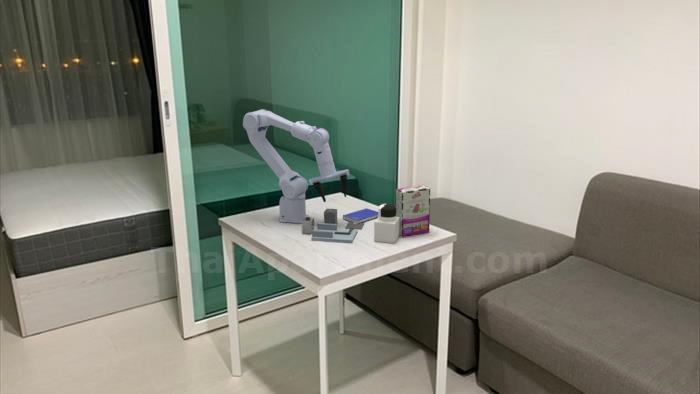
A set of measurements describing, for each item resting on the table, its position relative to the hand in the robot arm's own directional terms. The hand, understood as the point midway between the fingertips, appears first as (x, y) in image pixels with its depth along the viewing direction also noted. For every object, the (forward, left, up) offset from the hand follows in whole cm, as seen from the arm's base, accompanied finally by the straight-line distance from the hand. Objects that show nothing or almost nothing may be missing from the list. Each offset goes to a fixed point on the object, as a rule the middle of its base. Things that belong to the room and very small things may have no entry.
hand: (335, 198), depth 191 cm
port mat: (+7, 0, -10) cm, 12 cm away
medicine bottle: (+20, -10, -10) cm, 25 cm away
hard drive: (+8, +9, -10) cm, 16 cm away
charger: (-2, 0, -10) cm, 10 cm away
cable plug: (-8, -9, -10) cm, 16 cm away
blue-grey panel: (+2, -10, -10) cm, 14 cm away
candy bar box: (+28, -3, -10) cm, 30 cm away
